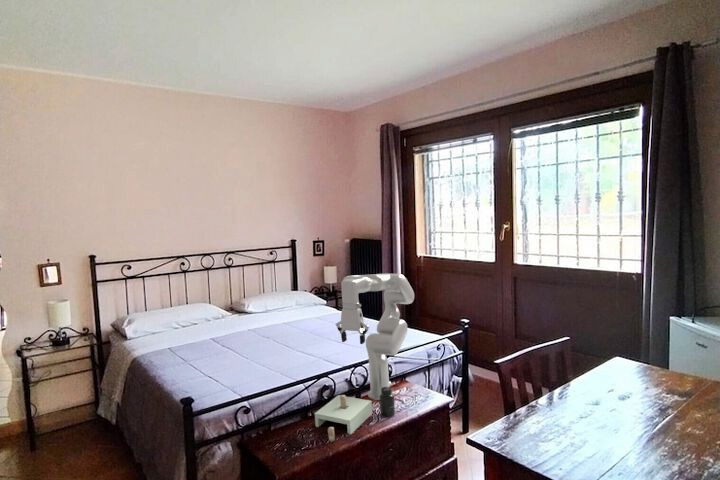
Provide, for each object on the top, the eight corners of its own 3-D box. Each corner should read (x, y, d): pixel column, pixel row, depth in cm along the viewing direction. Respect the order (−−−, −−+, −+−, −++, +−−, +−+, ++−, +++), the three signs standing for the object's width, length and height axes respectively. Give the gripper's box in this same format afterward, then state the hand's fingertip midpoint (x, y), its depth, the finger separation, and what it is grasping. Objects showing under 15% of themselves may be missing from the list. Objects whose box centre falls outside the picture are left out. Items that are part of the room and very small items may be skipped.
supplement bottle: (394, 418, 195) (392, 392, 194) (379, 417, 196) (377, 391, 195) (396, 410, 201) (394, 385, 201) (381, 410, 203) (380, 385, 202)
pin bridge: (339, 407, 209) (338, 395, 209) (372, 413, 200) (371, 400, 200) (315, 426, 192) (314, 413, 191) (350, 434, 183) (349, 420, 182)
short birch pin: (331, 437, 181) (330, 426, 181) (336, 439, 179) (334, 427, 179) (327, 440, 179) (326, 429, 179) (332, 442, 177) (331, 430, 177)
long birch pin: (343, 418, 198) (341, 394, 197) (348, 419, 196) (346, 395, 196) (340, 420, 195) (339, 396, 195) (345, 421, 194) (343, 397, 194)
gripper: (371, 305, 199) (373, 341, 200) (339, 303, 207) (341, 338, 208) (363, 308, 192) (366, 346, 193) (330, 306, 200) (333, 343, 201)
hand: (353, 342), depth 201 cm, fingers open, 9 cm apart
